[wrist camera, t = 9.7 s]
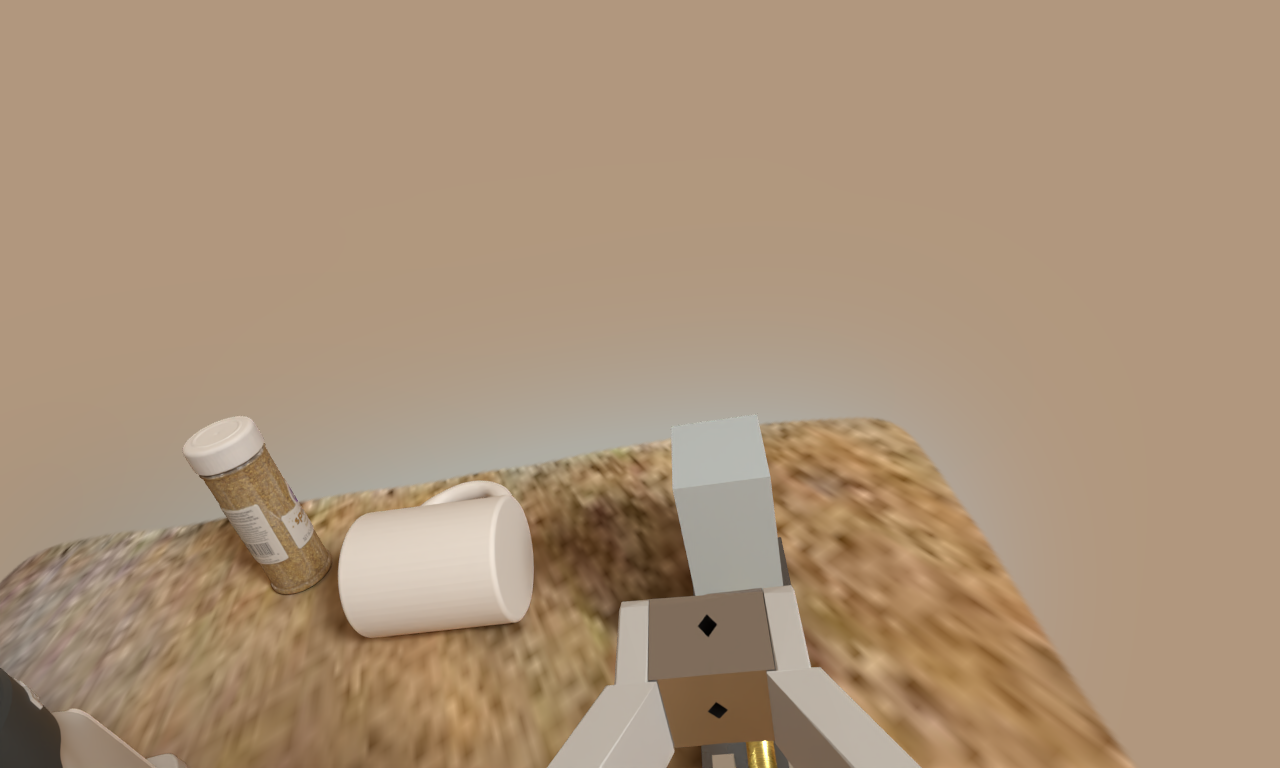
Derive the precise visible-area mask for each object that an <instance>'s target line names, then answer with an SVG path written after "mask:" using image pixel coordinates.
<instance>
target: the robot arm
mask: <svg viewBox="0 0 1280 768" xmlns="http://www.w3.org/2000/svg"><path fill="white" fill-rule="evenodd" d="M38 700H39V698H38V696H37V695H36V694H35V693H34V692H33V691H32V690H31V689H29V688H28V687H27V686H26V685H25V684H23V683H22V682H21V681H17V680H16V679H15V678H12V677H10V676H9V675H8V674H7V673H6V672H5V671H3V670H2V669H1V668H0V768H187V766H186V764H185V763H184V762H183V761H182V760H180V759H179V758H178V757H176V756H175V755H173V754H162V755H158V756H154V757H151V758H147V759H145V758H144V757H143V756H141V755H140V754H139V753H138V752H136V751H135V750H134V749H133V748H131V747H130V746H129V745H128V744H126V743H125V742H124V741H123V740H121V739H120V738H119V737H118V736H116V735H115V734H114V733H112V732H111V731H110V730H109V729H107V728H106V727H105V726H103V725H102V724H101V723H100V722H98V721H97V720H96V719H94V718H93V717H92V716H91V715H89V714H88V713H86V712H84V711H82V710H79V709H69V710H67V711H59V712H52V713H50V712H49V711H48V710H47V709H46V708H45V707H44V706H43V705H42V704H41V703H40V702H39V701H38ZM757 741H775V744H776V745H777V746H778V748H779V749H780V750H781V752H782V753H783V754H784V756H785V757H786V758H787V760H788V761H789V762H790V764H791V765H792V766H793V768H921V767H920V766H919V765H918V764H917V763H916V762H915V761H914V760H913V759H912V758H911V757H910V756H909V755H908V754H907V753H906V752H905V751H904V750H903V749H902V748H901V747H900V746H899V745H898V744H897V743H896V742H895V741H894V740H893V739H892V738H891V737H890V736H889V735H888V734H887V733H886V732H885V731H884V730H883V729H882V728H881V727H880V726H879V725H878V724H877V723H876V722H875V721H874V720H873V719H872V718H871V717H870V716H869V715H868V714H867V713H866V712H865V711H864V710H863V709H862V708H861V707H860V706H859V705H858V704H857V703H856V702H855V701H854V700H853V699H852V698H851V697H850V696H849V695H848V694H847V693H846V692H844V691H843V690H842V689H841V688H840V687H839V686H838V685H837V684H836V683H835V682H834V681H833V680H832V679H831V678H830V677H829V676H828V675H827V674H826V673H825V672H824V671H823V670H822V669H821V668H820V667H813V668H811V665H810V661H809V656H808V652H807V647H806V642H805V638H804V633H803V629H802V624H801V619H800V615H799V610H798V606H797V601H796V596H795V592H794V589H793V587H792V586H791V585H788V586H778V587H769V588H763V590H762V588H755V589H747V590H738V591H729V592H720V593H711V594H706V595H700V596H687V597H673V598H660V599H650V600H638V601H626V602H622V603H621V606H620V609H619V621H618V637H617V653H616V669H615V685H609V686H606V687H605V688H604V690H603V691H602V692H601V694H600V695H599V696H598V698H597V699H596V701H595V702H594V703H593V705H592V706H591V708H590V709H589V710H588V712H587V713H586V714H585V716H584V717H583V719H582V720H581V721H580V723H579V724H578V726H577V727H576V728H575V730H574V731H573V732H572V734H571V735H570V737H569V738H568V739H567V741H566V742H565V743H564V745H563V746H562V748H561V749H560V750H559V752H558V753H557V755H556V756H555V757H554V759H553V760H552V761H551V763H550V764H549V766H548V767H547V768H667V766H668V764H669V762H670V760H671V758H672V756H673V754H674V748H682V747H692V746H701V745H711V744H720V743H737V742H757Z"/></svg>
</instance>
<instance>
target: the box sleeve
mask: <svg viewBox="0 0 1280 768" xmlns="http://www.w3.org/2000/svg"><path fill="white" fill-rule="evenodd" d="M671 433H672V434H671V437H672V481H673V493H674V498H675V502H676V507H677V512H678V516H679V521H680V526H681V531H682V535H683V540H684V545H685V549H686V554H687V559H688V563H689V568H690V573H691V577H692V582H693V587H694V591H695V596H700V595H706V594H711V593H720V592H729V591H738V590H747V589H755V588H762V590H763V588H769V587H778V586H783V580H782V571H781V563H780V554H779V546H778V538H777V529H776V521H775V512H774V504H773V496H772V487H771V479H770V473H769V468H768V464H767V459H766V455H765V450H764V445H763V441H762V436H761V431H760V427H759V422H758V418H757V415H756V414H755V415H748V416H741V417H734V418H727V419H720V420H713V421H706V422H699V423H692V424H685V425H678V426H672V427H671Z"/></svg>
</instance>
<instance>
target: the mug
mask: <svg viewBox="0 0 1280 768" xmlns="http://www.w3.org/2000/svg"><path fill="white" fill-rule="evenodd" d="M533 579H534V559H533V548H532V540H531V535H530V530H529V526H528V522H527V519H526V516H525V514H524V511H523V509H522V507H521V505H520V504H519V502H518V501H517V500H516V499H515V498H514V497H512V495H511V493H510V492H509V490H508V489H507V488H505V487H504V486H502V485H500V484H498V483H494V482H490V481H471V482H466V483H462V484H459V485H456V486H454V487H451V488H449V489H447V490H445V491H443V492H441V493H439V494H437V495H435V496H434V497H432V498H430V499H429V500H427V501H426V502H425V503H423V504H422V505H421V506H419V507H411V508H403V509H396V510H388V511H380V512H373V513H367V514H365V515H362V516H361V517H359V518H358V519H357V520H356V521H355V522H354V523H353V524H352V526H351V527H350V529H349V530H348V532H347V534H346V536H345V539H344V542H343V544H342V548H341V552H340V557H339V565H338V587H339V595H340V600H341V604H342V608H343V610H344V613H345V616H346V618H347V620H348V621H349V623H350V625H351V626H352V627H353V629H354V630H355V631H356V632H358V633H359V634H360V635H362V636H365V637H368V638H377V637H386V636H395V635H404V634H414V633H423V632H432V631H442V630H451V629H460V628H469V627H479V626H488V625H497V624H507V623H515V622H518V621H520V620H521V619H522V618H523V617H524V615H525V614H526V612H527V610H528V607H529V604H530V601H531V596H532V590H533Z"/></svg>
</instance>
